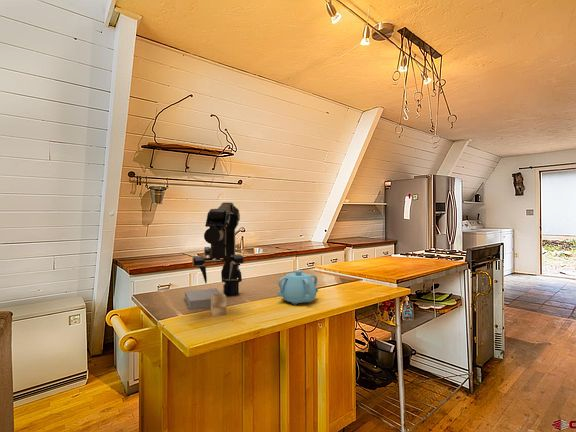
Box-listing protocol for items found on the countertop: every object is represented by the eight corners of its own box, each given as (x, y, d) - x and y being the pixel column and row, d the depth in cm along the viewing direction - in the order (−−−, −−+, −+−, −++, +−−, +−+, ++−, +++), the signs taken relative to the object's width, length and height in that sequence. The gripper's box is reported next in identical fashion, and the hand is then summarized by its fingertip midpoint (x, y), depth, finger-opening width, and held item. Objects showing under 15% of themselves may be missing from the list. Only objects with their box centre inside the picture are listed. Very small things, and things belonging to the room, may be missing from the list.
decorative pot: (272, 303, 137) (273, 271, 137) (290, 294, 151) (290, 266, 151) (307, 308, 129) (307, 275, 129) (322, 299, 143) (322, 269, 143)
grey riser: (216, 296, 148) (216, 288, 148) (224, 307, 132) (224, 297, 132) (184, 299, 142) (184, 291, 142) (189, 311, 126) (189, 301, 126)
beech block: (223, 311, 125) (223, 293, 125) (226, 314, 120) (226, 296, 120) (210, 312, 123) (210, 294, 123) (212, 316, 118) (213, 297, 118)
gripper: (237, 239, 133) (237, 276, 133) (191, 240, 126) (190, 279, 126) (244, 241, 122) (243, 281, 122) (193, 243, 115) (193, 285, 115)
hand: (218, 282), depth 122 cm, fingers open, 9 cm apart
